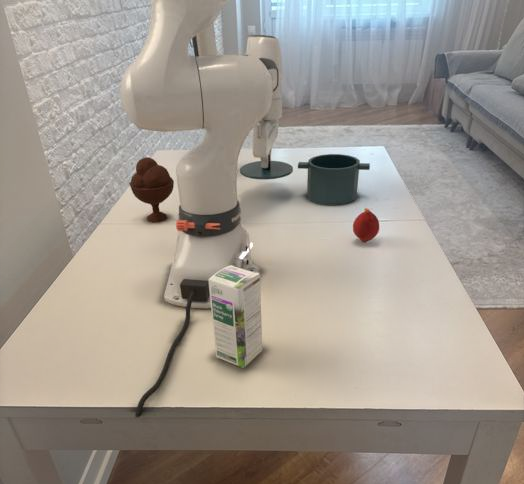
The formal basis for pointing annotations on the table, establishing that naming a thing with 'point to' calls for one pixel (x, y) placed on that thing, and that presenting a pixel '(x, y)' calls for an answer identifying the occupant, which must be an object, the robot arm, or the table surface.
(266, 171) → the lid
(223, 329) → the syrup box
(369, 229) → the onion
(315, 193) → the pot
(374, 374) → the table surface
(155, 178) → the ice cream bowl
